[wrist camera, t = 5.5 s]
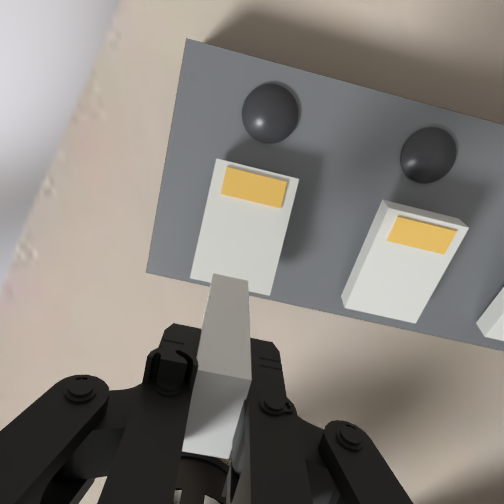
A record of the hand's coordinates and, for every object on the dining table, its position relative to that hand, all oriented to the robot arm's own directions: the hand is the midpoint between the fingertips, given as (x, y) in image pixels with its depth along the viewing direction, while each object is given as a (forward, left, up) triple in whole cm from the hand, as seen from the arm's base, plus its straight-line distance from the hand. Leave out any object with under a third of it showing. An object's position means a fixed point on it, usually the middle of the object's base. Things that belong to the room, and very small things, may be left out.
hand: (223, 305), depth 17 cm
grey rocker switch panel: (-9, -4, -11) cm, 15 cm away
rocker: (0, -2, -5) cm, 6 cm away
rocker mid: (-9, -2, -6) cm, 11 cm away
